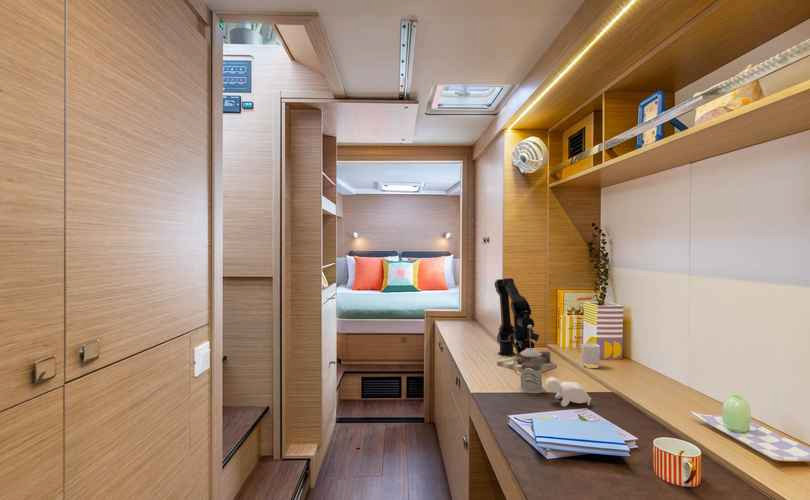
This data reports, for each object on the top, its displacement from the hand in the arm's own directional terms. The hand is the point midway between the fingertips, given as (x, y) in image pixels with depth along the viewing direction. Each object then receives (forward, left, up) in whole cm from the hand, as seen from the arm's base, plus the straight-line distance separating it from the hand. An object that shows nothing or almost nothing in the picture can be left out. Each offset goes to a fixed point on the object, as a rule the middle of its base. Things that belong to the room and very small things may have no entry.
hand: (521, 358), depth 186 cm
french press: (+23, -23, -3) cm, 33 cm away
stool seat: (+2, +1, -3) cm, 4 cm away
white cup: (+21, +23, -3) cm, 31 cm away
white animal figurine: (+40, -24, -3) cm, 47 cm away
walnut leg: (+5, +2, -1) cm, 6 cm away
